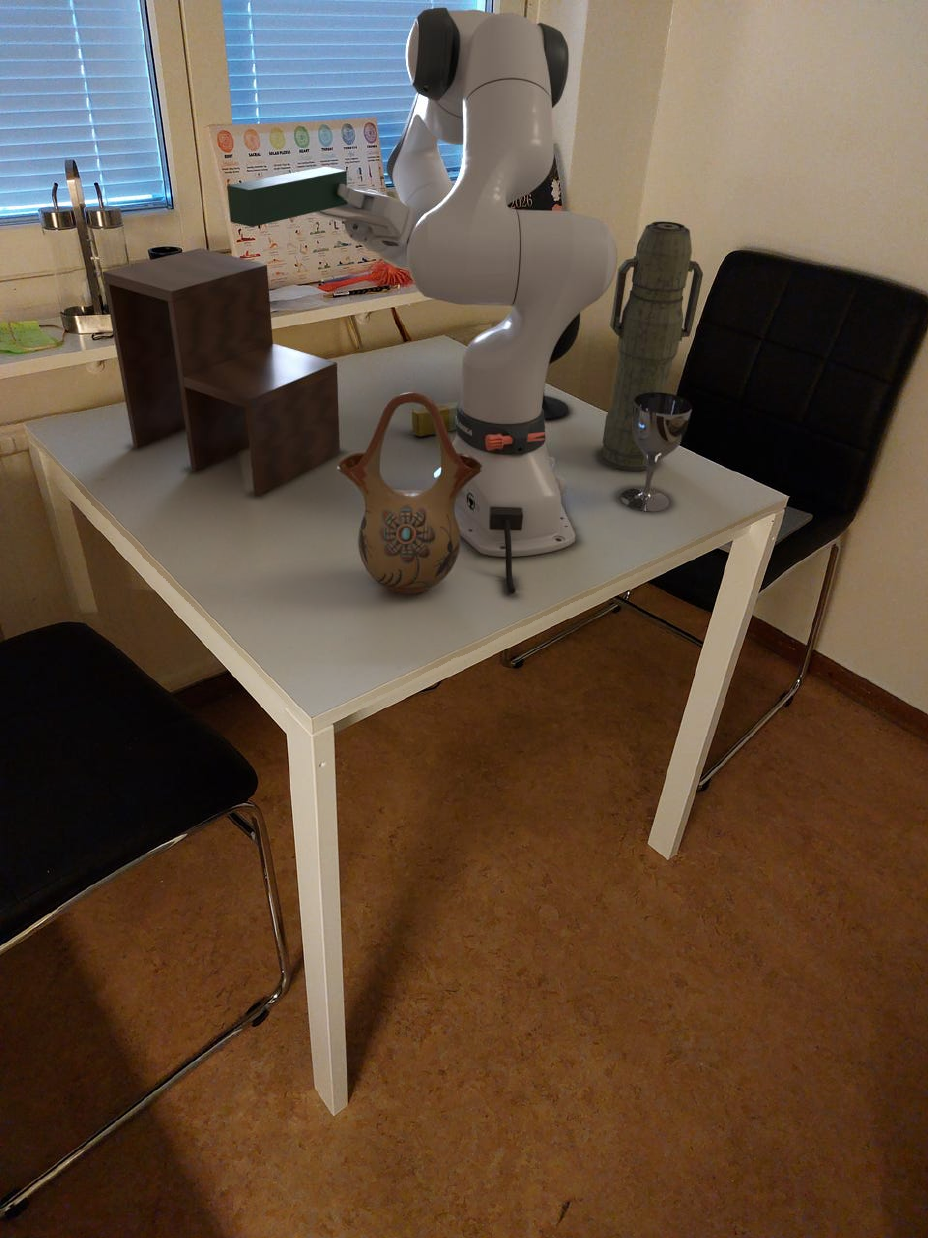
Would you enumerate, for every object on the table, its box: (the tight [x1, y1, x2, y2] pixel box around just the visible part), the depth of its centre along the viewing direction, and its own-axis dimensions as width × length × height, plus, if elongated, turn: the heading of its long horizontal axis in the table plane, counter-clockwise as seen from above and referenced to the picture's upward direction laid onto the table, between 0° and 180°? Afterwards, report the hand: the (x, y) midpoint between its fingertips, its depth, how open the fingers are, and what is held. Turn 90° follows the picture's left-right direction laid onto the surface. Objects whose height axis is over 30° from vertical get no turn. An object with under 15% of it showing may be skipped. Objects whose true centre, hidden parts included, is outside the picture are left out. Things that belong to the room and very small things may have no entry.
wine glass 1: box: [542, 312, 581, 421], centre depth 152 cm, size 10×10×20 cm
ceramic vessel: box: [336, 391, 483, 595], centre depth 103 cm, size 16×9×25 cm, turn 95°
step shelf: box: [101, 247, 341, 497], centre depth 131 cm, size 18×26×26 cm
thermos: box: [600, 220, 704, 472], centre depth 133 cm, size 9×12×35 cm
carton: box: [226, 166, 348, 228], centre depth 137 cm, size 22×4×5 cm, turn 147°
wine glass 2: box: [620, 392, 693, 513], centre depth 127 cm, size 8×8×15 cm
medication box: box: [411, 400, 461, 437], centre depth 147 cm, size 12×3×4 cm, turn 123°
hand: (323, 185), depth 142 cm, fingers closed on carton, 4 cm apart
